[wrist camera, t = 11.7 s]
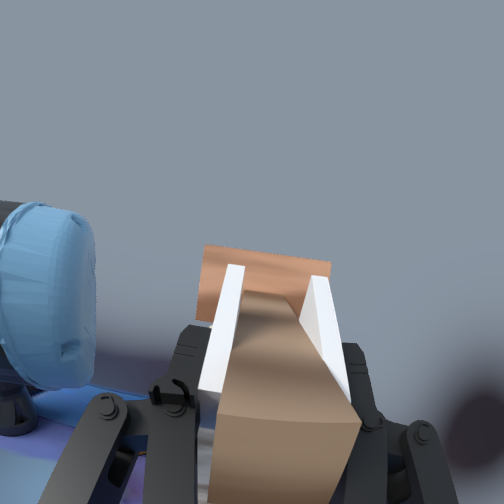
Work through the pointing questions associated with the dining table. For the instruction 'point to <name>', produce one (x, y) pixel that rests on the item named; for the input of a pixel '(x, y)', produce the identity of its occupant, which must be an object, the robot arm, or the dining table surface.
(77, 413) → the dining table surface
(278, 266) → the wooden mallet
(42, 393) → the dining table surface
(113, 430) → the robot arm
